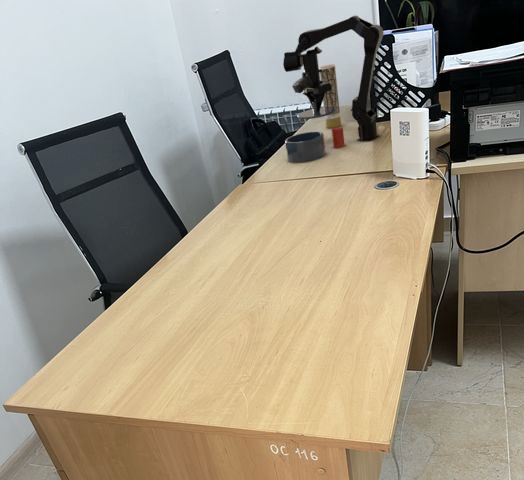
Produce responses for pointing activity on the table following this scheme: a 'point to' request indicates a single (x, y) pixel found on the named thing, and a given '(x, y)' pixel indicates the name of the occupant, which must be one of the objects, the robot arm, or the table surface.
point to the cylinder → (338, 137)
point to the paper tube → (331, 95)
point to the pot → (305, 147)
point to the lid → (316, 112)
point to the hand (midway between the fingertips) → (316, 110)
